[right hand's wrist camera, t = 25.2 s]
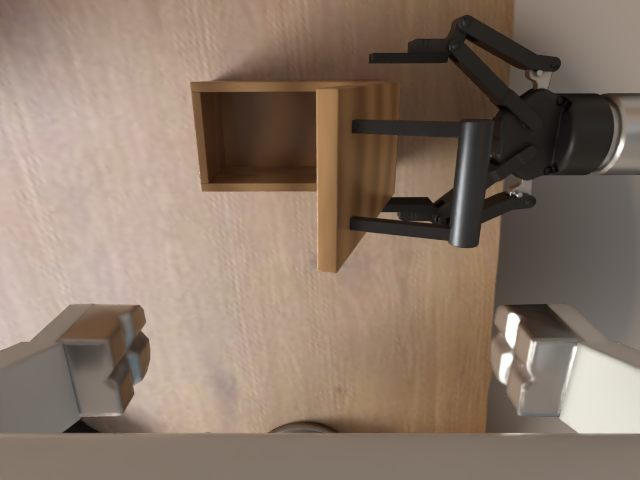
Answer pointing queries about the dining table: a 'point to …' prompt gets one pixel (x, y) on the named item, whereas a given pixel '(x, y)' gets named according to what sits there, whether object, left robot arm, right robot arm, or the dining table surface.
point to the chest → (258, 133)
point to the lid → (386, 170)
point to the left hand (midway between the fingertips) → (367, 135)
